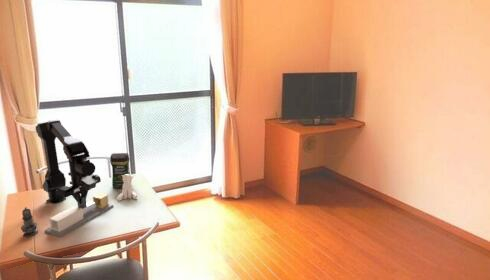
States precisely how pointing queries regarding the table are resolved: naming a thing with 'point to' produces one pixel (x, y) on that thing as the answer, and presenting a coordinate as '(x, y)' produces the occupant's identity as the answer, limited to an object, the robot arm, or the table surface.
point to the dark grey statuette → (28, 224)
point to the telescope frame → (76, 216)
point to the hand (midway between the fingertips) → (81, 203)
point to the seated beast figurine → (127, 188)
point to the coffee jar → (119, 168)
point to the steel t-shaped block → (86, 205)
